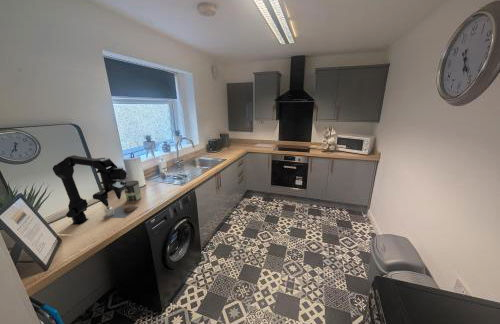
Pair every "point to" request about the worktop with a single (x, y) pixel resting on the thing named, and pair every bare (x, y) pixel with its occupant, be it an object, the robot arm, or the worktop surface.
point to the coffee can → (132, 191)
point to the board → (120, 213)
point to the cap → (109, 211)
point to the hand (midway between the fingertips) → (113, 202)
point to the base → (129, 208)
